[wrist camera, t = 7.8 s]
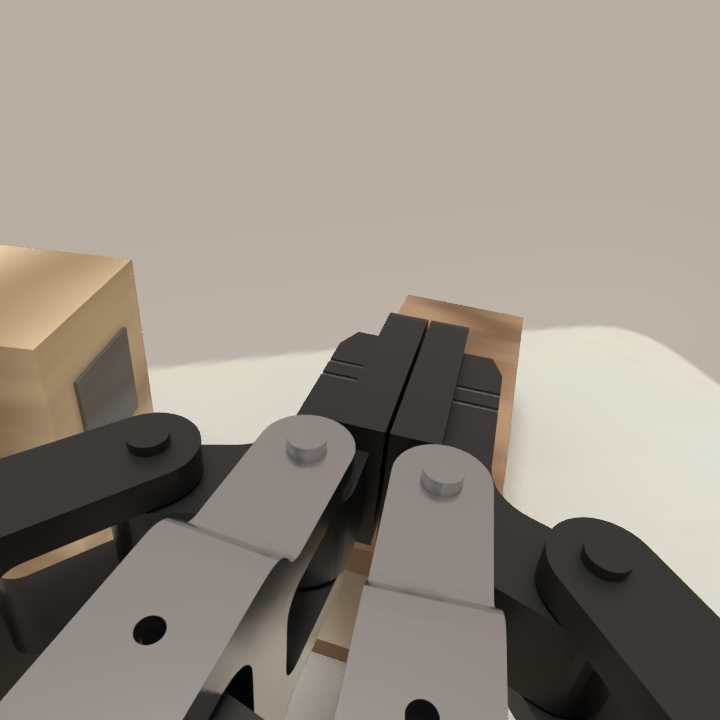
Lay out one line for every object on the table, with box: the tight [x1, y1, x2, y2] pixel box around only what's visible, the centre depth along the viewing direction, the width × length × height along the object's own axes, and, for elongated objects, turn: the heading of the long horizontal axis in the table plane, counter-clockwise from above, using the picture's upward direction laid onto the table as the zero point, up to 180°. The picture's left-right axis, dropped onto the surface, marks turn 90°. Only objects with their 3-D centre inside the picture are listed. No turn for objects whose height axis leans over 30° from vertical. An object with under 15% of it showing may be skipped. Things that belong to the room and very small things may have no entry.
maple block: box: [0, 245, 153, 579], centre depth 17 cm, size 5×5×9 cm
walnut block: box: [312, 295, 523, 663], centre depth 21 cm, size 5×5×14 cm
